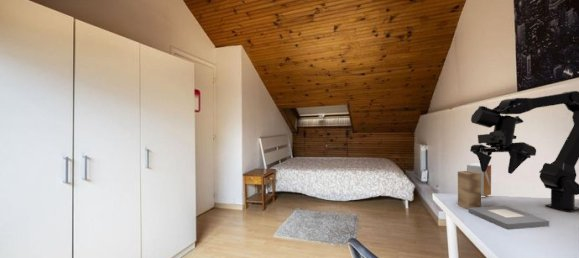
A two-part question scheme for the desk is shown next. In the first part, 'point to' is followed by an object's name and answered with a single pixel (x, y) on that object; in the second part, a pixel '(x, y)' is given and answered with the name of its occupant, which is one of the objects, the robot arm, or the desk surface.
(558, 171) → the robot arm
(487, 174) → the small box
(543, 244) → the desk surface
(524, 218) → the baseplate
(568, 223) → the desk surface
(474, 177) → the oak block
